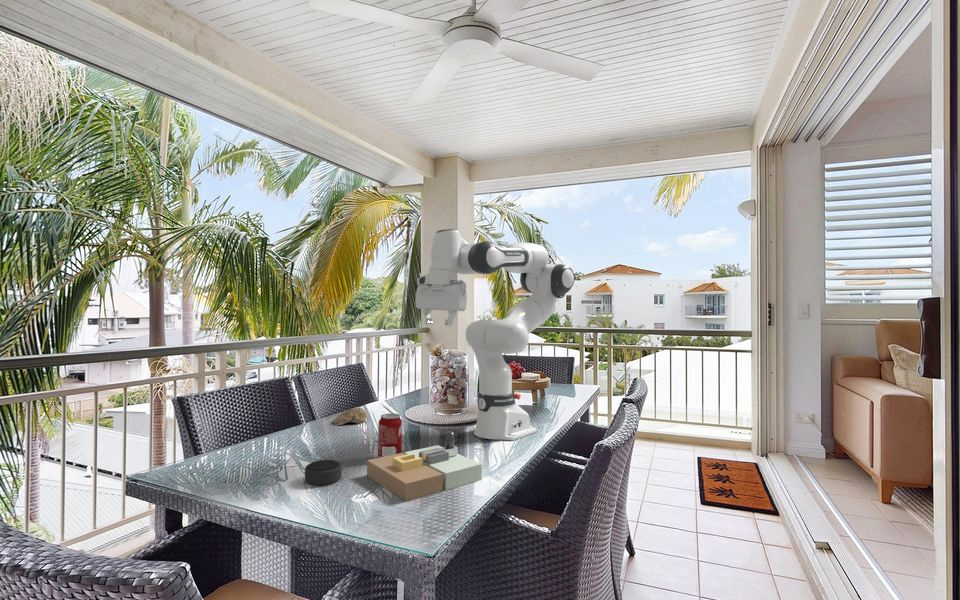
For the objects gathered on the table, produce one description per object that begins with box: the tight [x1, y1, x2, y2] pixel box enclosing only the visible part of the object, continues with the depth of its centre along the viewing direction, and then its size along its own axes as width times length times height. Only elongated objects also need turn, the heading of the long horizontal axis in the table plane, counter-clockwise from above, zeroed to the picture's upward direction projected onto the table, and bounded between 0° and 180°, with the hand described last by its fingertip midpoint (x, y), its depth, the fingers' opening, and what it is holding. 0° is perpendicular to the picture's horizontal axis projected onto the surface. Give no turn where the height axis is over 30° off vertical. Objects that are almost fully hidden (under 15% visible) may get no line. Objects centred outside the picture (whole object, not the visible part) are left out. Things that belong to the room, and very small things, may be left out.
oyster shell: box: [332, 406, 369, 426], centre depth 181 cm, size 10×12×5 cm
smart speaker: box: [304, 459, 343, 486], centre depth 123 cm, size 9×9×4 cm
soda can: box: [377, 412, 403, 458], centre depth 141 cm, size 7×7×12 cm
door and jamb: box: [366, 444, 483, 502], centre depth 125 cm, size 22×20×6 cm
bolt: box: [422, 430, 459, 462], centre depth 128 cm, size 10×2×6 cm, turn 129°
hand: (438, 324), depth 150 cm, fingers open, 8 cm apart
